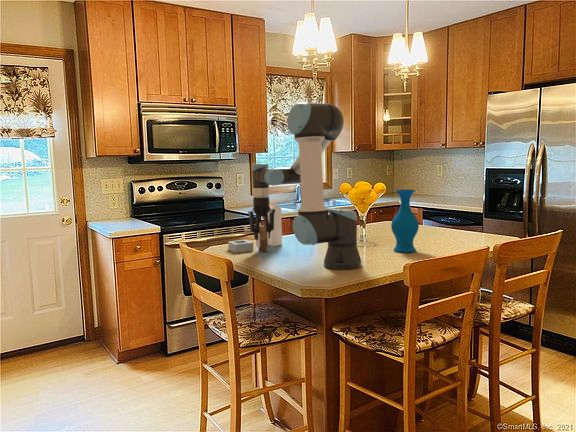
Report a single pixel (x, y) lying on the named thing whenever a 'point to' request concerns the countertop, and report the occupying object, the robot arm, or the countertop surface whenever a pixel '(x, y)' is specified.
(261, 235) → the peg
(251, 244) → the socket block
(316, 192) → the robot arm
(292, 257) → the countertop surface
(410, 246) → the vase
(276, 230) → the milk
